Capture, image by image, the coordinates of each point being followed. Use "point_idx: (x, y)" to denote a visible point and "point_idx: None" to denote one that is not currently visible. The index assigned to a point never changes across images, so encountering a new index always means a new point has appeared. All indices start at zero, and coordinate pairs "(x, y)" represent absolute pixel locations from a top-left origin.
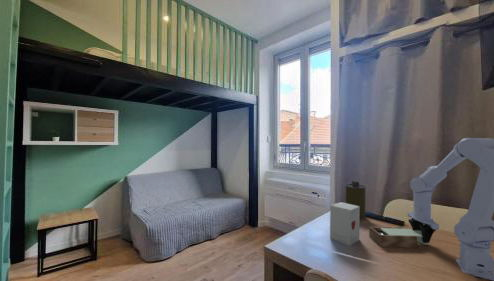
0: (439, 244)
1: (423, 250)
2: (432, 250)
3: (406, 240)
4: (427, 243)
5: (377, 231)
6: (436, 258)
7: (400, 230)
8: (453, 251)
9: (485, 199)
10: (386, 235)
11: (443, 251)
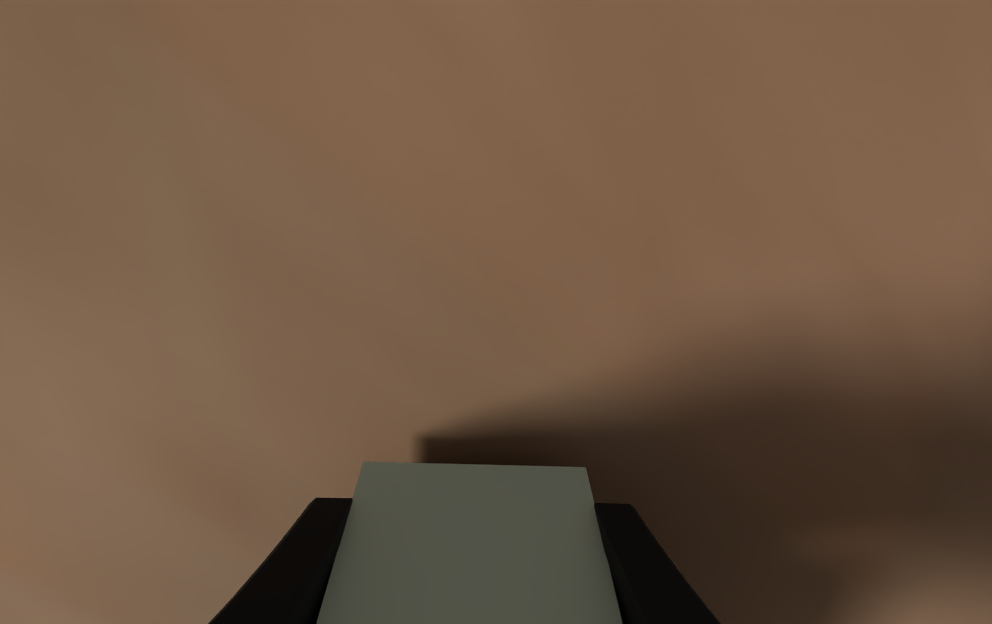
0: (466, 81)
1: (709, 599)
2: (730, 468)
3: None
4: (589, 493)
5: None
6: (969, 593)
7: None
8: (849, 49)
9: None
10: None
11: (802, 295)
